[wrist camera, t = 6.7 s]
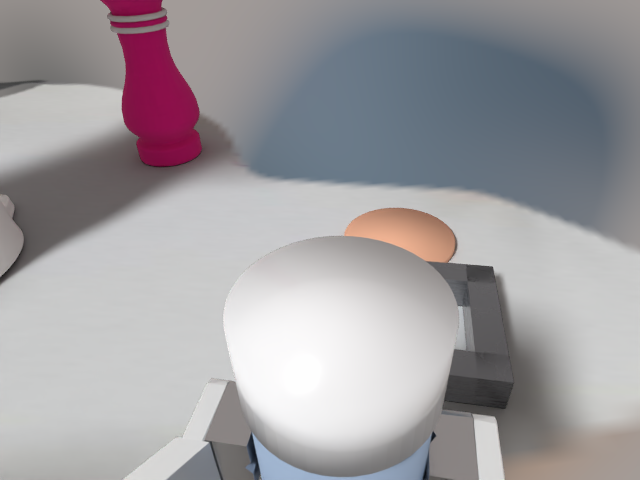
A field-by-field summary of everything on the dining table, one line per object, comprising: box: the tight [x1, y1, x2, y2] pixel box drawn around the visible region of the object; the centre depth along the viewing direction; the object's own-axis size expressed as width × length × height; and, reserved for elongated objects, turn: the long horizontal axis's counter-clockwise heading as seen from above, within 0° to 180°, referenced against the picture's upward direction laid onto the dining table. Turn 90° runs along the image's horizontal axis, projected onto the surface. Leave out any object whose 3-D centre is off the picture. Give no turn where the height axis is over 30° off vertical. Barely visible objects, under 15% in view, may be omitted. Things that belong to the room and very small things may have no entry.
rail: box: [426, 261, 514, 408], centre depth 24 cm, size 8×15×2 cm, turn 169°
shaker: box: [223, 236, 459, 480], centre depth 11 cm, size 4×4×11 cm
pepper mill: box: [101, 0, 202, 167], centre depth 42 cm, size 7×7×20 cm
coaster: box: [344, 208, 455, 263], centre depth 34 cm, size 8×8×1 cm
